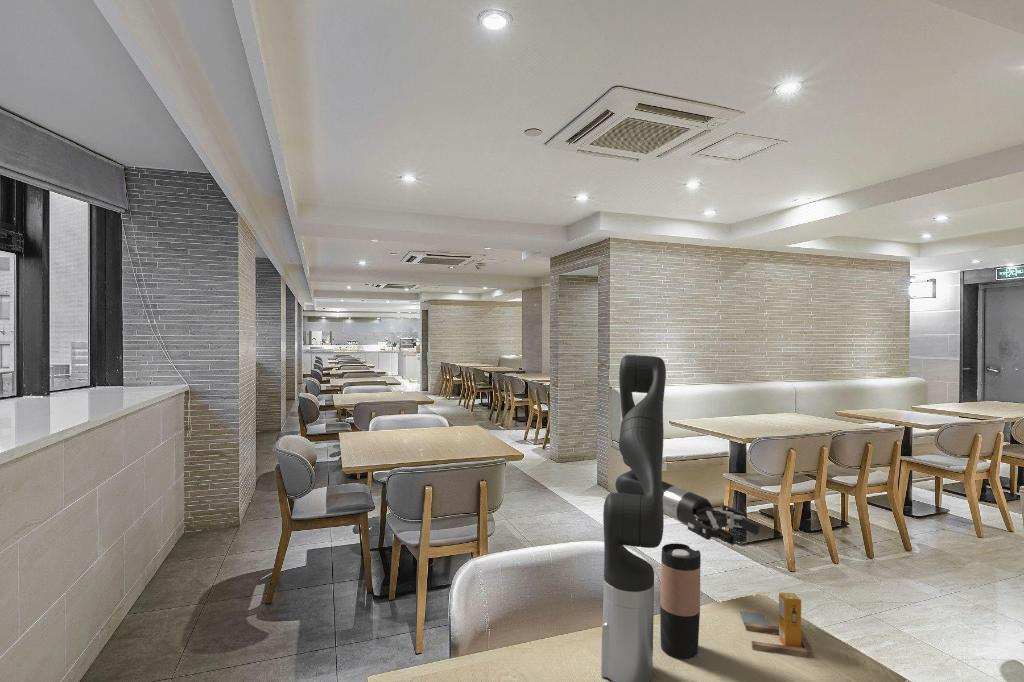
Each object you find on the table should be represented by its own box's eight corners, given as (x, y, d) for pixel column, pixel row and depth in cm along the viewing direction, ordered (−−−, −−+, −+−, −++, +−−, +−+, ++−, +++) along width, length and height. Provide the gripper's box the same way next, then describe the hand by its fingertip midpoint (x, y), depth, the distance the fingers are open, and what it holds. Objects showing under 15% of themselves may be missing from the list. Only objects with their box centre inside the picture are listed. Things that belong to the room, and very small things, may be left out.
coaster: (744, 625, 117) (744, 622, 117) (740, 613, 122) (740, 610, 122) (768, 628, 116) (769, 625, 116) (763, 616, 121) (763, 613, 121)
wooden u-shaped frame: (752, 649, 108) (752, 644, 108) (744, 626, 116) (744, 622, 116) (813, 657, 105) (814, 652, 105) (801, 634, 114) (801, 629, 114)
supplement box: (794, 639, 112) (795, 592, 111) (801, 649, 108) (802, 600, 108) (777, 638, 112) (778, 591, 112) (784, 648, 109) (785, 599, 108)
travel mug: (659, 657, 105) (661, 556, 105) (658, 635, 112) (660, 541, 112) (701, 663, 103) (703, 560, 103) (697, 641, 111) (699, 545, 110)
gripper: (666, 498, 124) (728, 527, 111) (705, 485, 132) (767, 511, 119) (664, 528, 125) (725, 560, 112) (703, 514, 133) (764, 543, 120)
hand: (747, 535), depth 115 cm, fingers open, 8 cm apart
